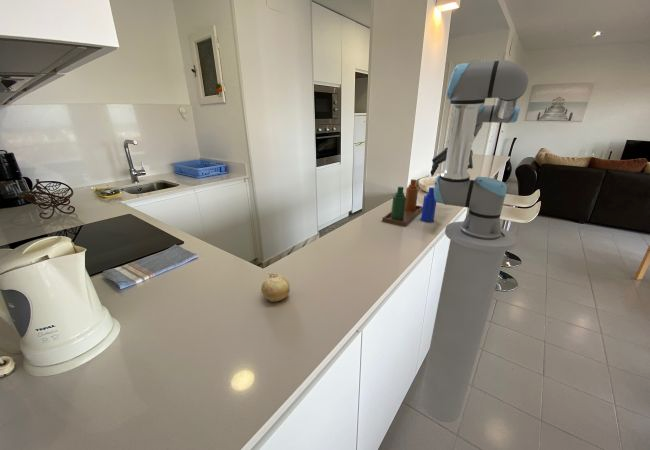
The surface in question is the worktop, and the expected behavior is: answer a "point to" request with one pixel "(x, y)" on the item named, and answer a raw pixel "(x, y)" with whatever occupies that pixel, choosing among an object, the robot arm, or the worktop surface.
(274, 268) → the worktop surface
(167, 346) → the worktop surface
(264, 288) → the onion
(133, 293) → the worktop surface
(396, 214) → the green bottle
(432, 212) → the blue bottle
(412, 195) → the amber bottle
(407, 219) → the tray
